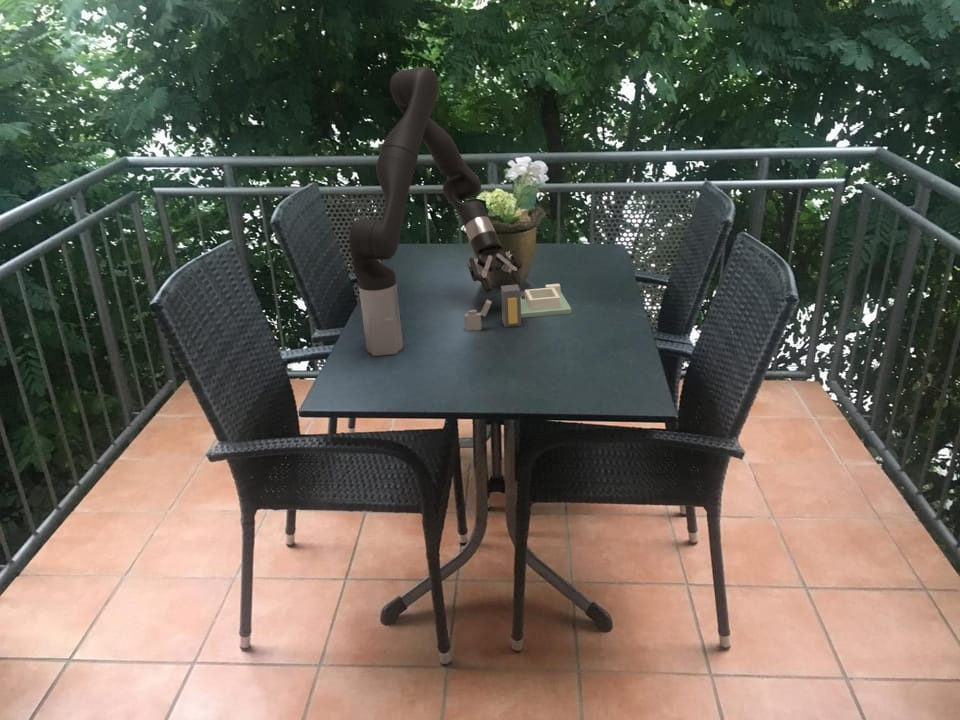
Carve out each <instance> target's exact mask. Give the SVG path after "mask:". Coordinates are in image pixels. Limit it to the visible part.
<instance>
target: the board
mask: <svg viewBox="0 0 960 720" xmlns="http://www.w3.org/2000/svg"><path fill="white" fill-rule="evenodd" d="M520 298H521V319H523V318H533V317H544V316H545V317H546V316H556V315H557V316H558V315H566V314H567V315H569V314H572V311H573V309H572V307H571V306H570V304H569V302H568V301H567V298H565V296H564V294H563V293H562V291H561V285H560V283H552V284H545V287H543V288H542V287H541V288H532V289H524V290H523V291H520Z"/></svg>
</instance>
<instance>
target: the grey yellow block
mask: <svg viewBox="0 0 960 720" xmlns="http://www.w3.org/2000/svg"><path fill="white" fill-rule="evenodd" d="M520 292H521V289H520V285H519V286H518V284H517V285H514V284H507V285H501V286H500V294H501V320H502V323H503V326H504V328H509V327H510V328H511V327H518V326H519V327H520V326H522V318H521V298H520Z"/></svg>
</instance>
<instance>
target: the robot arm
mask: <svg viewBox="0 0 960 720" xmlns="http://www.w3.org/2000/svg"><path fill="white" fill-rule="evenodd" d="M389 88H390V89H389V90H390V94H391V97H392V98H393V101H394V103H395V104H396V106H397V107H398V109H399V110H400V111H401V113H402V114H403V116H402V117H401V118H400V119H399V121H398V123H396V125H395V126H394V128H392V130H391V131H390V132H389V133H388V135H387V136H386V138H385V139H384V141H383V143H382V144H381V148H380V151H379V155H378V158H377V160H376V161H377V162H376V168H375V169H376V170H375V171H376V177H377V179H378V183H379V185H380V188H381V190H382V191H381V192H382V194H383V197H384V201H385V202H384V203H385V204H384V212H383V216H382V218H381V219H369V218H360V219H356V220H355V221H353V223H351V226H350V229H349V233H348V236H349V237H348V238H349V239H348V240H349V242H348V243H349V250H350V255H351V261H352V265H353V272H354V275H355V278H356V280H357V284H358V290H359V298H360V299H359V300H360V307H361V315H362V322H363V330H364V339H365V346H366V352H367V353H369V354H371V355H372V357H376V356H377V357H378V356H379V357H380V356H389V355H397V354H398V352H400V351H401V350H402V349H403V347H404V344H403V335H402V326H401V325H402V324H401V317H400V306H399V296H398V286H397V285H398V284H397V277H396V273H395V271H394V270H393V269H391V268H390V267H388V266H386V265H384V264H383V263H381V262H380V261H379V260H390V259H392V258H393V257H394V256H395V254H396V252H397V251H398V247H399V244H400V239H401V234H402V227H403V220H404V216H405V215H404V214H405V210H406V209H405V208H406V204H407V199H408V196H409V191H410V188H411V184H412V180H413V178H414V173H415V171H416V170H415V169H416V166H417V163H418V162H417V161H418V157H419V152H420V149H421V145H422V142H423V143H424V144H425V146H426V148H427V149H428V151H429V153H430V155H431V157H432V159H433V161H434V163H435V165H436V167H437V168H438V171H439V173H440V174H442V175H443V176H453V175H455V176H454V177H451V178H449V179H447V180H445V181H444V182H443V185H442V193H443V195H444V197H445V198H446V199H447V201H448V202H449V203H450V204H451V206H453V208H454V209H455V210H456V212H457V213H458V216H459V217H460V220H461V222H462V224H463V226H464V229H465V232H466V236H467V238H468V242H469V244H470V245H471V248H472V250H473V253H474V255H475V257H476V258H473V257H469V259H468V260H467V262H466V263H467V264H466V265H467V267H468V270H469V273H470V276H471V280H472V281H473V282H480V283H481V285H482V288H483V289H484V292H486V293H487V294H491V293H492V291H493V288H492V286H491V283H490V281H489V278H488V277H487V275H488V272H494V271H500V270H502V271H503V272H507V273H508V274H509V275H510V277H511V279H512V281H513V285H517V284H518V286H519V287H520V285H521V283H522V280H521V277H520V275H519V273H518V272H520V271H521V269H522V268H523V264H522V263H521V260H520V258H519V256H518V253H516V251H515V249H513V248H511V249H510V251H506V252H505V251H504V250H503V247H502V244H501V242H500V240H499V237H498V235H497V232H496V230H495V228H494V226H493V223H492V222H491V220H490V219H489V216H488V214H487V212H486V208H485V207H484V204H483V203H482V202H481V201H480V200H469V201H467V200H468V199H470V198H473V197H475V196H476V195H479V193H480V192H481V189H482V183H481V181H480V178H479V176H477V174H476V173H475V172H474V171H473V170H472V169H471V168H470V167H469V166H468V164H466V162H465V160H464V159H463V158H462V155H461V154H460V151H459V149H458V146H457V145H456V143H455V142H454V139H453V138H452V137H451V135H450V134H449V133H448V132H447V131H446V130H444V129H443V128H442V127H441V126H440V125H439V124H438V123H436V122H435V121H434V120H433V119H432V118H431V115H432V113H433V109H434V107H435V104H436V101H437V98H438V94H439V80H438V76H437V73H436V72H435V70H434V69H432V68H430V67H429V66H419V67H413V68H408V69H403V70H399V71H397V72H395V73H394V74H393V75H392V76H391V78H390V82H389ZM477 265H479V266H480V267H482V270H481V272H480V273H479V270H478V267H477Z"/></svg>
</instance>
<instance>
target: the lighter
mask: <svg viewBox="0 0 960 720" xmlns="http://www.w3.org/2000/svg"><path fill="white" fill-rule="evenodd" d="M491 305H492V300H489V299H486V300H485V302H484V305H483V307H482V308H481V311H480V312H477V309H470V310H468V311H467V313H464V320H465V321H464V322H465V324H464V325H465V331H466V332H468V331H473V330H474V331H482V317H486V316H487V314H488V312H489V309H490V308H491Z"/></svg>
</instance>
